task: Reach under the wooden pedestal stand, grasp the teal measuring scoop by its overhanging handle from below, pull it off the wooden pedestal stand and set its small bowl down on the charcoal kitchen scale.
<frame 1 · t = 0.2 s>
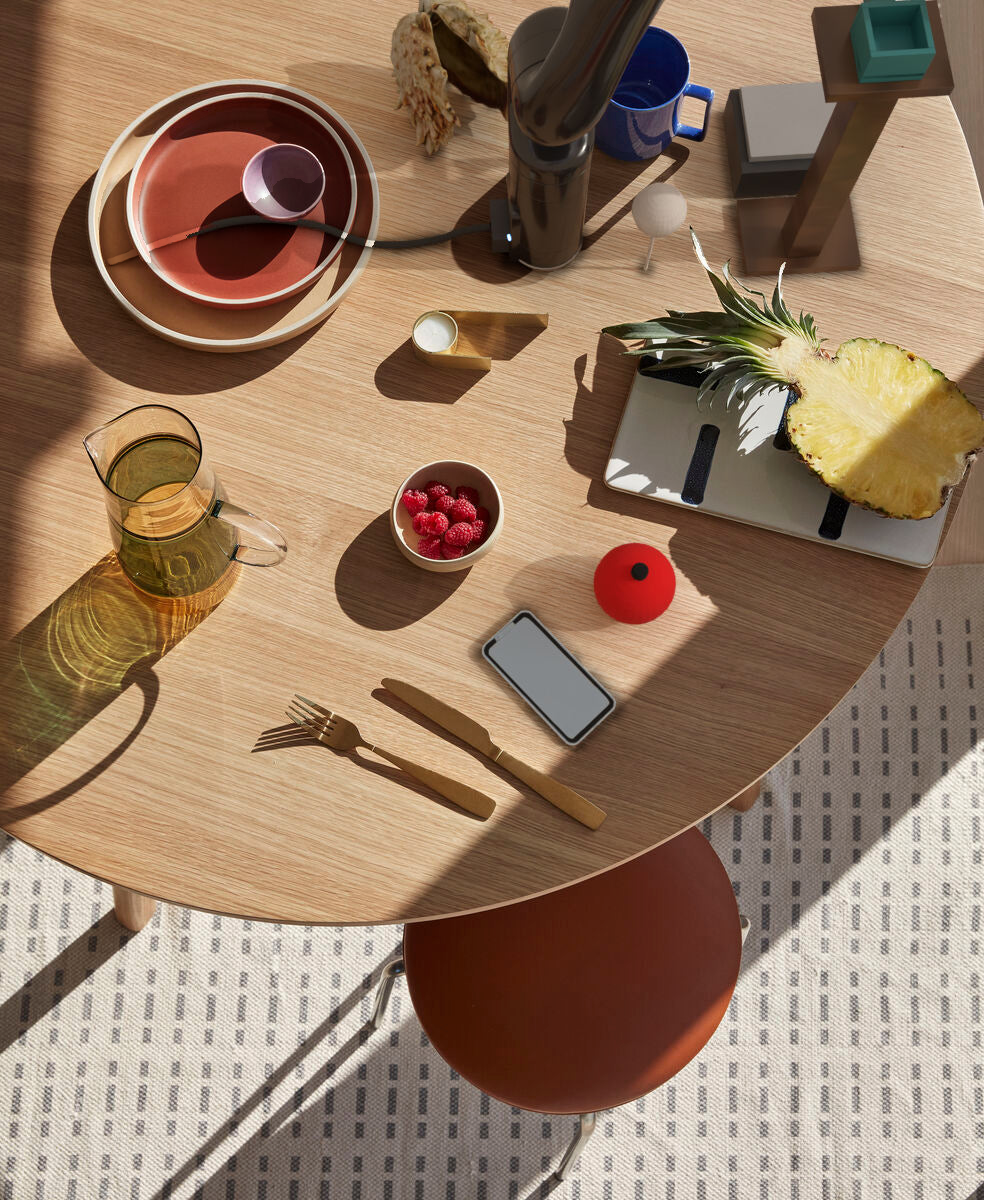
lollipop: (645, 269, 135), on the table
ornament: (629, 594, 125), on the table
scoop: (885, 55, 105), point 32 cm above the table, touching wooden pedestal stand
scale: (783, 153, 139), on the table
wooden pedestal stand: (796, 237, 136), on the table
smartphone: (548, 678, 122), on the table
seashell: (455, 120, 141), on the table
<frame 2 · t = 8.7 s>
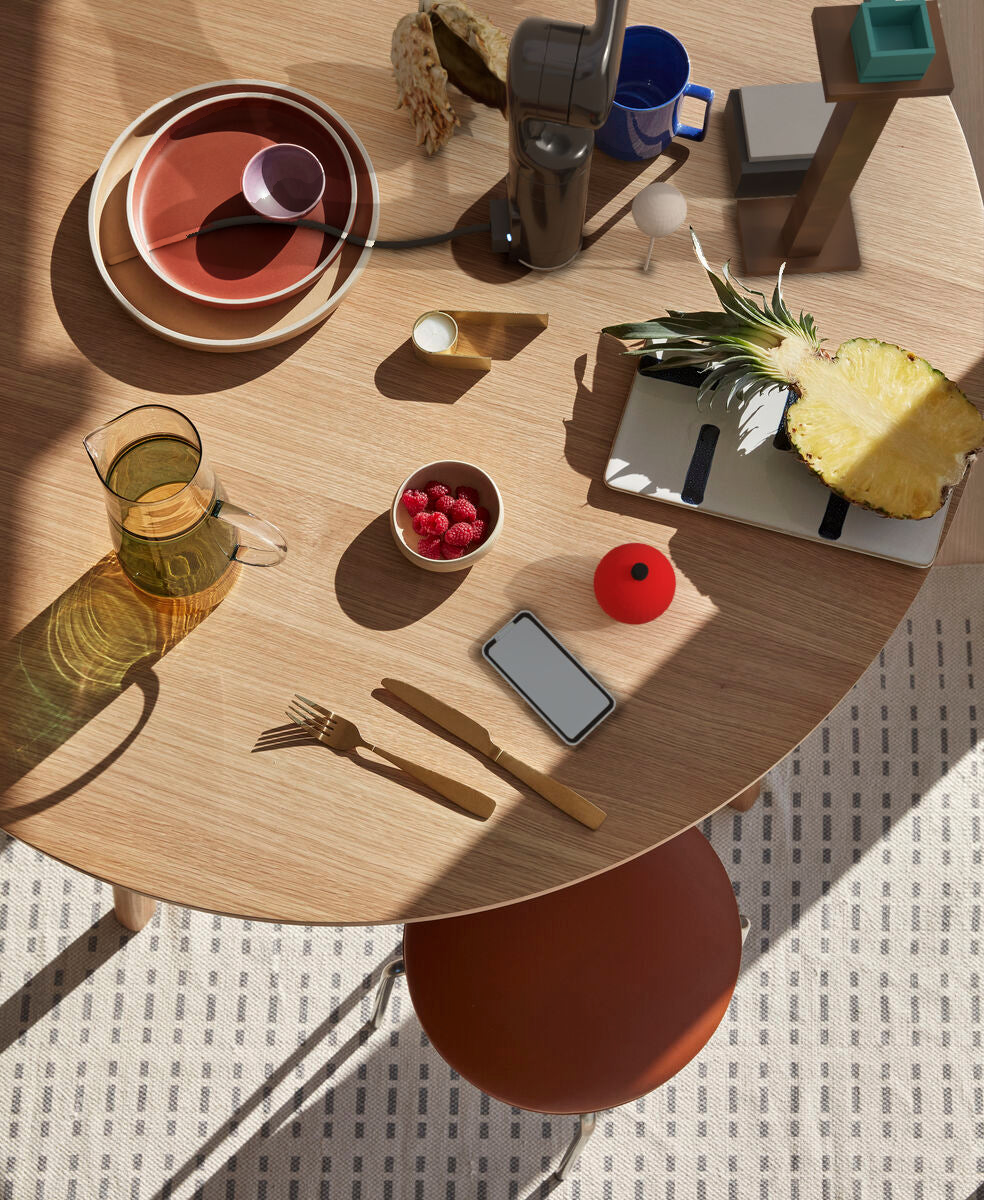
nothing on the table moved.
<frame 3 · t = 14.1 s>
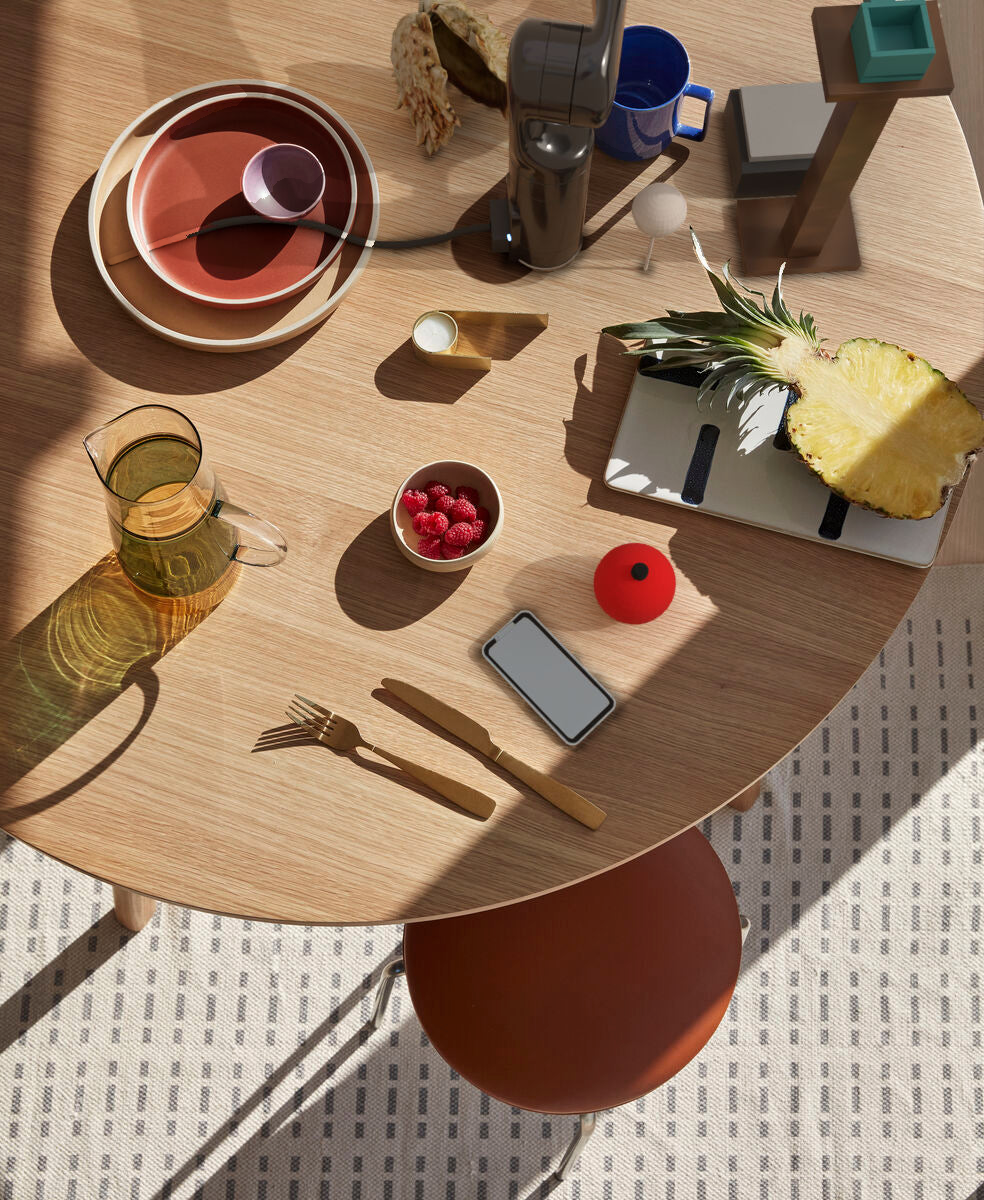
scoop: (885, 55, 105), point 32 cm above the table, touching gripper, wooden pedestal stand
everything else where it was.
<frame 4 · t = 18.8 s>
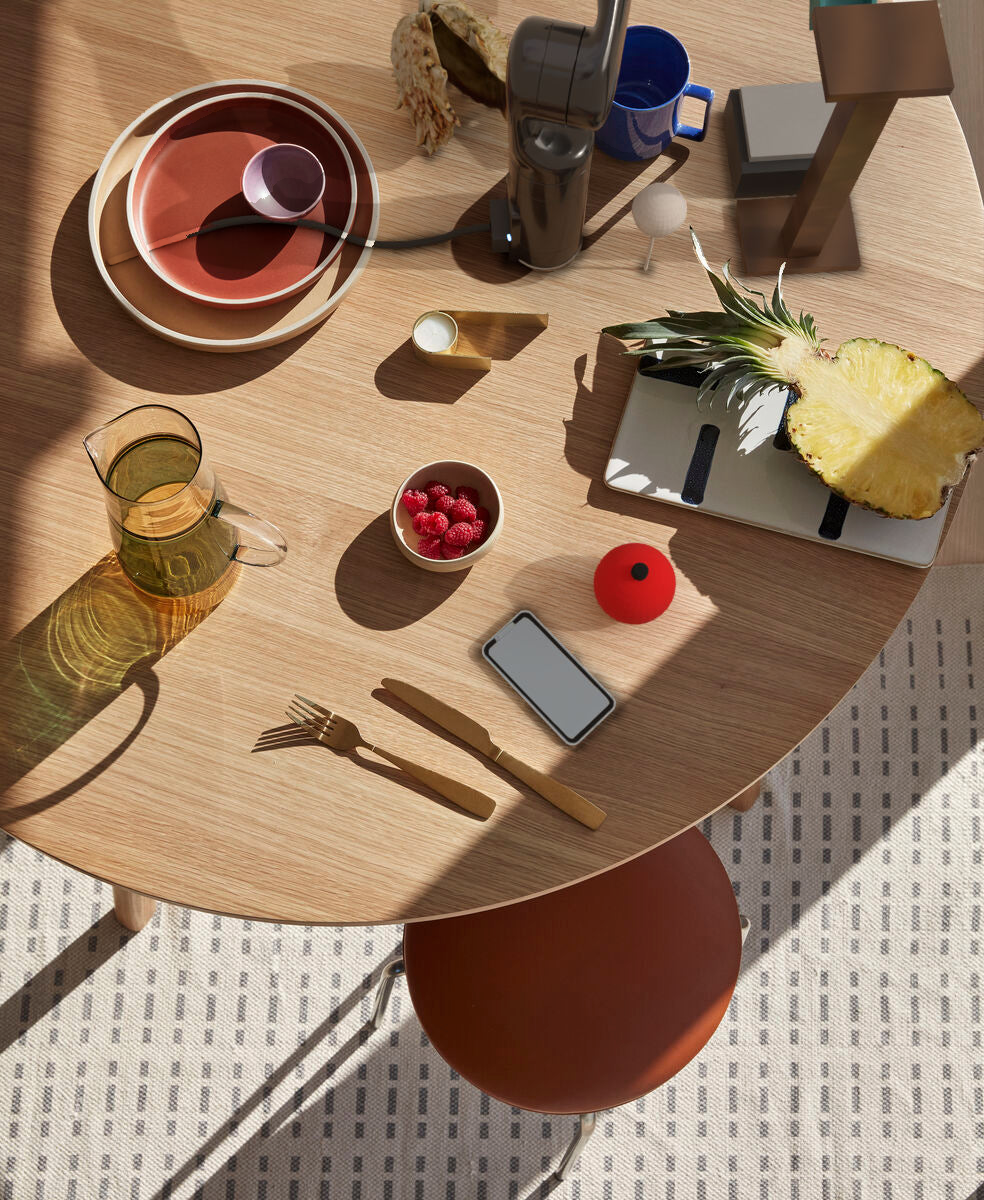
when the fingers open (10 cm above the table, at t = 23.2 s): scoop stays where it is, resting on scale.
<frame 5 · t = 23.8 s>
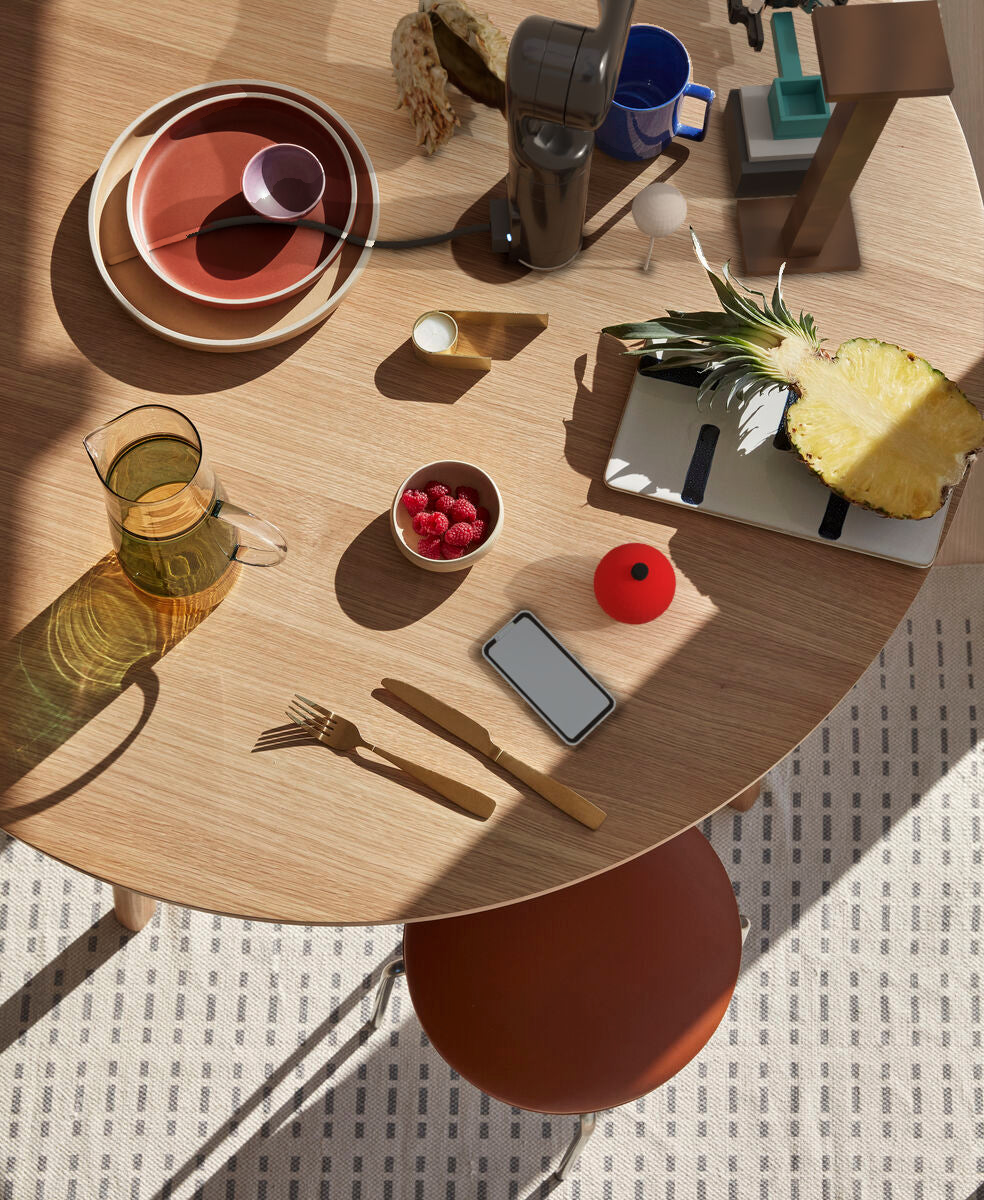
hand: (793, 45, 132), 10 cm above the table, tool horizontal, fingers open, 7 cm apart
scoop: (794, 117, 133), point 6 cm above the table, touching scale
everything else where it was.
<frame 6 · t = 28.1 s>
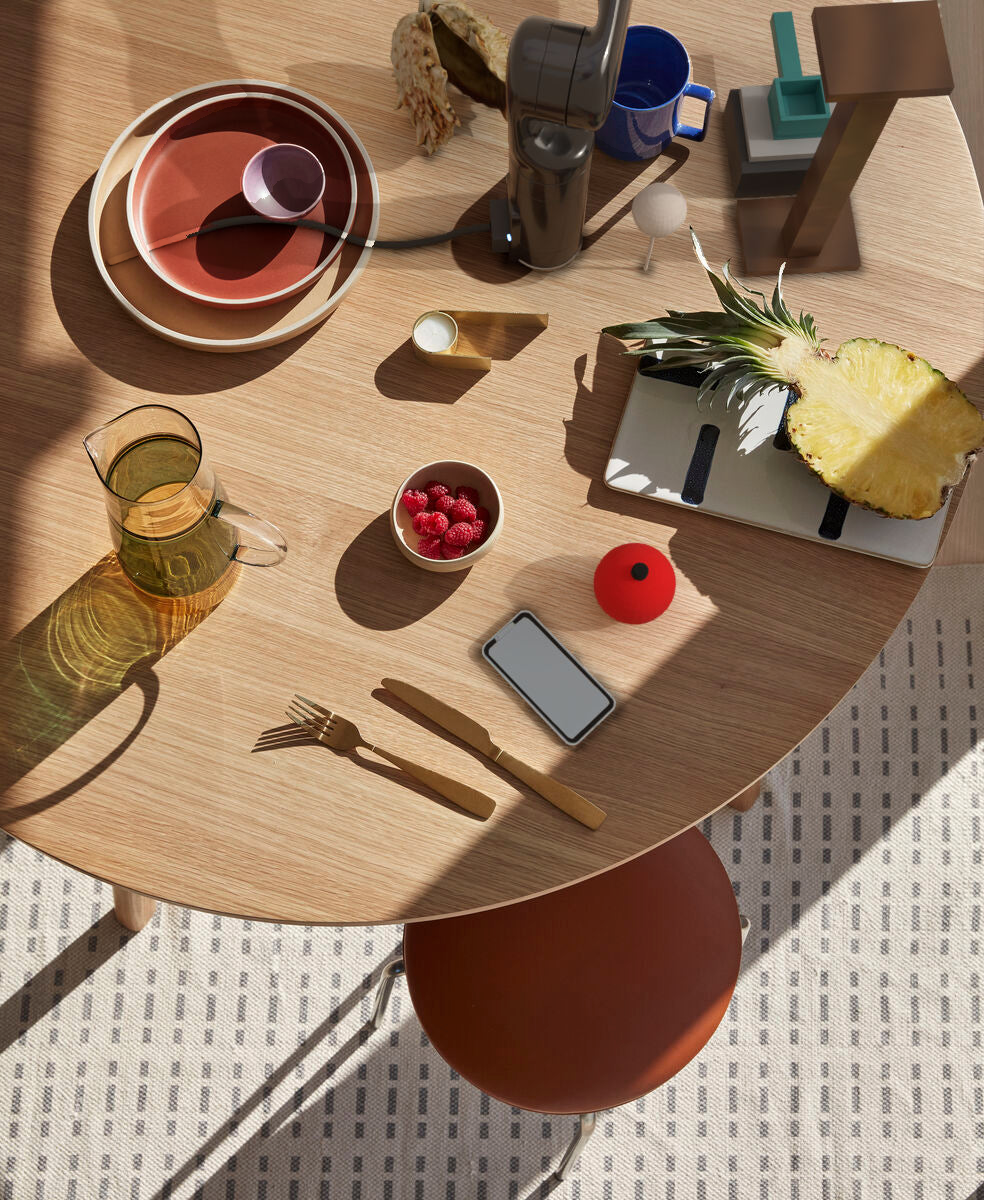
nothing on the table moved.
at the end: scoop inside the target area on the scale (0.6 cm from its centre), point 6.0 cm above the scale's base; scoop tilted 0°; the gripper is holding nothing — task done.
